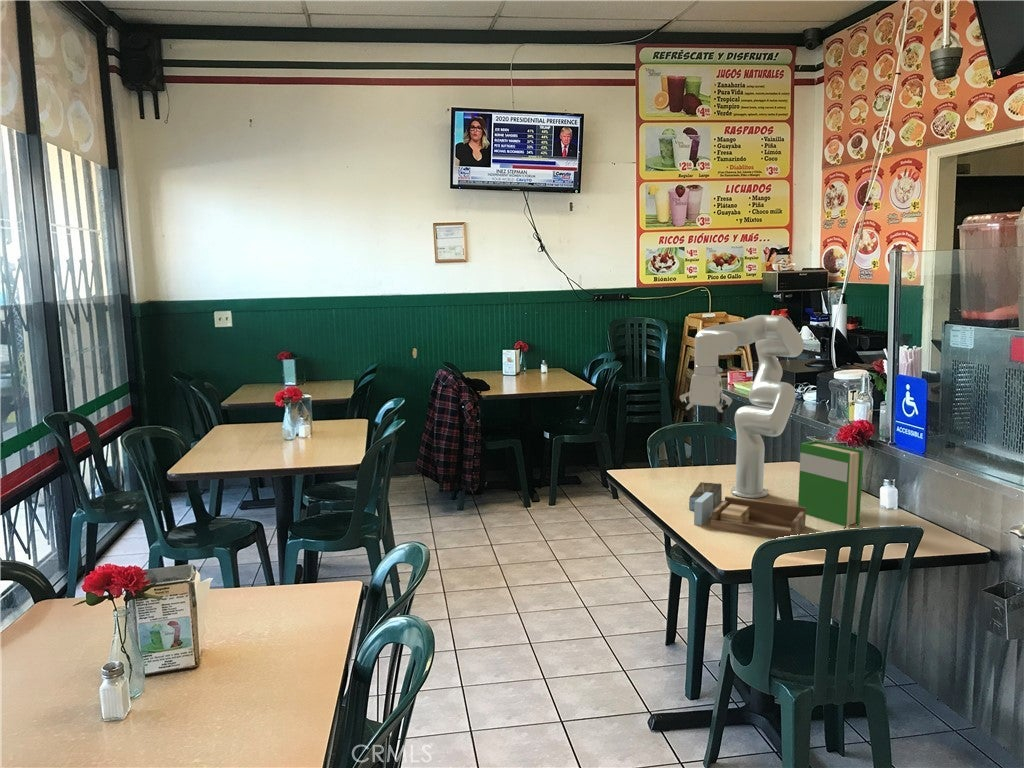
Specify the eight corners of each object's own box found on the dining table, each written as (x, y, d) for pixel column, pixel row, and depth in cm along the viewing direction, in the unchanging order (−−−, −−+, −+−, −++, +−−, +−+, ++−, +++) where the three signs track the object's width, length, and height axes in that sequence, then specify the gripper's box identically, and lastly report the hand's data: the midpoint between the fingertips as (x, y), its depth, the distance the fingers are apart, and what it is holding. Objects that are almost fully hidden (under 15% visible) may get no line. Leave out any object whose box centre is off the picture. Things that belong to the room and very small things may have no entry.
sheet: (705, 515, 274) (706, 492, 273) (712, 516, 273) (713, 493, 271) (693, 526, 264) (694, 501, 262) (701, 527, 262) (701, 502, 261)
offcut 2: (730, 512, 270) (730, 508, 270) (749, 515, 267) (749, 510, 267) (720, 522, 260) (720, 517, 260) (739, 525, 257) (739, 520, 257)
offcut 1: (730, 508, 270) (730, 503, 269) (749, 510, 267) (749, 506, 266) (720, 517, 260) (720, 512, 260) (739, 520, 257) (740, 515, 257)
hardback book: (859, 524, 264) (863, 450, 261) (844, 529, 260) (848, 453, 257) (812, 511, 279) (815, 440, 276) (797, 514, 275) (800, 443, 272)
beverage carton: (687, 513, 278) (688, 494, 277) (699, 498, 296) (699, 480, 295) (712, 516, 275) (712, 496, 274) (722, 500, 293) (722, 482, 292)
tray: (725, 517, 273) (725, 496, 272) (805, 528, 261) (806, 507, 260) (710, 531, 260) (711, 509, 259) (793, 544, 247) (794, 521, 246)
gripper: (735, 370, 272) (734, 422, 275) (684, 368, 281) (683, 418, 283) (729, 374, 266) (728, 427, 268) (676, 370, 274) (675, 422, 277)
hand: (705, 422), depth 276 cm, fingers open, 9 cm apart
